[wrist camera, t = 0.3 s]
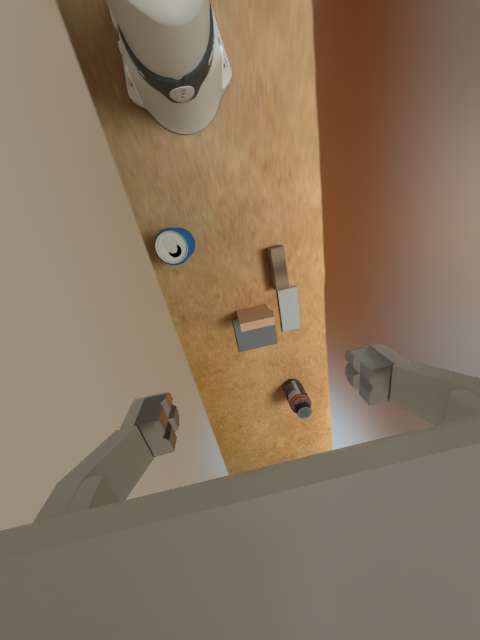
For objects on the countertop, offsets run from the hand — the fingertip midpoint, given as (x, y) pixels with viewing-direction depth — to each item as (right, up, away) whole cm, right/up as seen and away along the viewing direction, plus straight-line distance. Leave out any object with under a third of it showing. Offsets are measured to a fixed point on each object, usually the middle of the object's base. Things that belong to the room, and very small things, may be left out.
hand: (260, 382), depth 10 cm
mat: (+3, 0, +51) cm, 51 cm away
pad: (+12, +6, +49) cm, 51 cm away
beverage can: (-14, +20, +40) cm, 47 cm away
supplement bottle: (+15, -18, +60) cm, 64 cm away
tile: (+2, +5, +48) cm, 49 cm away
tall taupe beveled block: (+8, +16, +45) cm, 48 cm away
